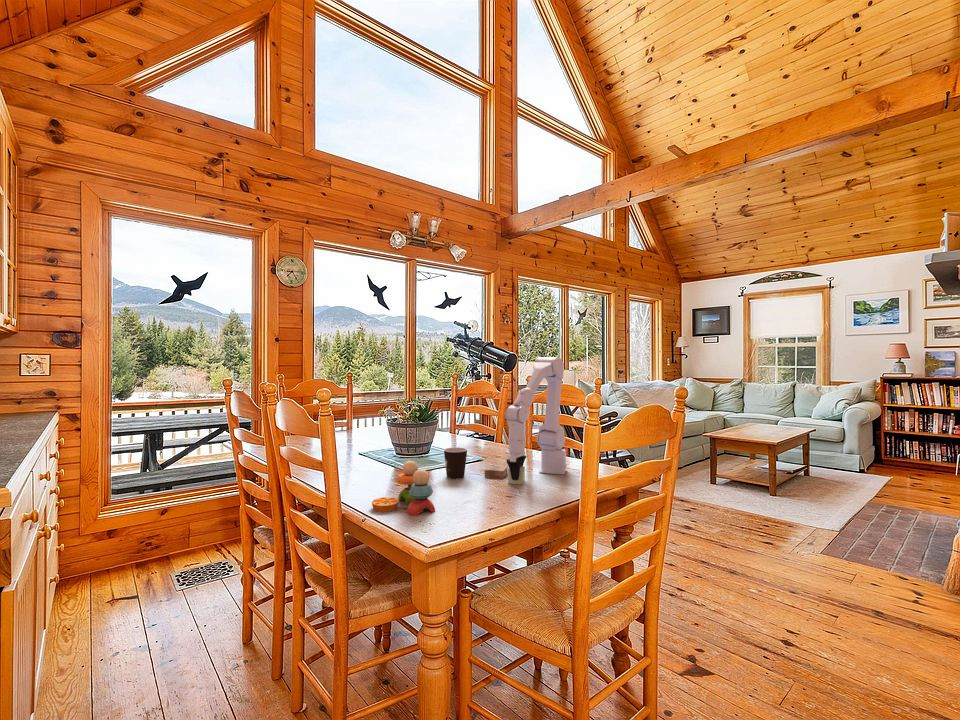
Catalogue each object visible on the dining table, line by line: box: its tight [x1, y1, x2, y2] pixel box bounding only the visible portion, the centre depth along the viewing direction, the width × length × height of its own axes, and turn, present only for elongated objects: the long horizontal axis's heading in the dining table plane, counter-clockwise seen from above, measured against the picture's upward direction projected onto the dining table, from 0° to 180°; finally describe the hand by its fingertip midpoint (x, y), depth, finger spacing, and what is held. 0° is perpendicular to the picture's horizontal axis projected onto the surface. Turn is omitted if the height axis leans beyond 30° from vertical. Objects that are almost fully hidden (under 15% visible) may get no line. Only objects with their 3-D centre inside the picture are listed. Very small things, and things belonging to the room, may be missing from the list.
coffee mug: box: [443, 446, 468, 480], centre depth 180 cm, size 12×9×10 cm
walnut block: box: [484, 464, 509, 479], centre depth 181 cm, size 7×7×3 cm
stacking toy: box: [371, 460, 436, 517], centre depth 143 cm, size 18×17×12 cm
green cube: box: [507, 465, 526, 485], centre depth 172 cm, size 5×5×5 cm
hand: (516, 477), depth 172 cm, fingers closed on green cube, 5 cm apart
